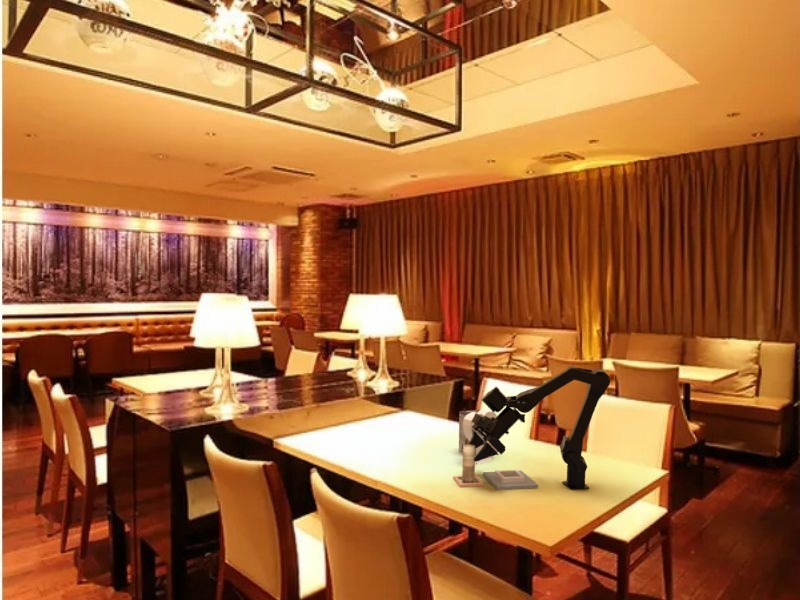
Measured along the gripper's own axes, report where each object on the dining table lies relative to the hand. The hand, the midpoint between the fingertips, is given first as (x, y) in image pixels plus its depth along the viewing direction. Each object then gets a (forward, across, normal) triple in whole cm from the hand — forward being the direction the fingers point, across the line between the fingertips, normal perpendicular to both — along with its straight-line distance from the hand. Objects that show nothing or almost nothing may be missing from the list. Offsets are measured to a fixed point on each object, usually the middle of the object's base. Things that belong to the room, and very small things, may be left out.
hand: (470, 456), depth 189 cm
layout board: (-4, +1, +16) cm, 16 cm away
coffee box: (-1, -30, +14) cm, 33 cm away
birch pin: (+6, 0, +6) cm, 9 cm away
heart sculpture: (-1, -22, +14) cm, 26 cm away
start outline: (+6, 0, +6) cm, 9 cm away
